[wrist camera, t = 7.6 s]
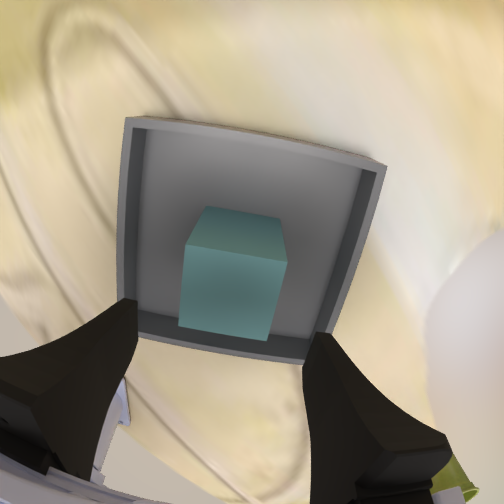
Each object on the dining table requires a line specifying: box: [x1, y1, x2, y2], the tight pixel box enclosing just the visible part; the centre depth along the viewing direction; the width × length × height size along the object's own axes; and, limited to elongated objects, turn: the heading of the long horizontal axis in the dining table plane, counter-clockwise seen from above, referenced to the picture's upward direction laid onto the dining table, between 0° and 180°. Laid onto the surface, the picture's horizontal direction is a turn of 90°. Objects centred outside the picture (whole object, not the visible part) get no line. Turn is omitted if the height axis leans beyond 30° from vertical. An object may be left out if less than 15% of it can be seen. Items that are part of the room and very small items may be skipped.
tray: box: [116, 116, 387, 365], centre depth 20 cm, size 14×14×3 cm
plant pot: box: [430, 453, 479, 502], centre depth 31 cm, size 9×9×9 cm
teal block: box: [178, 206, 288, 341], centre depth 18 cm, size 4×4×6 cm
